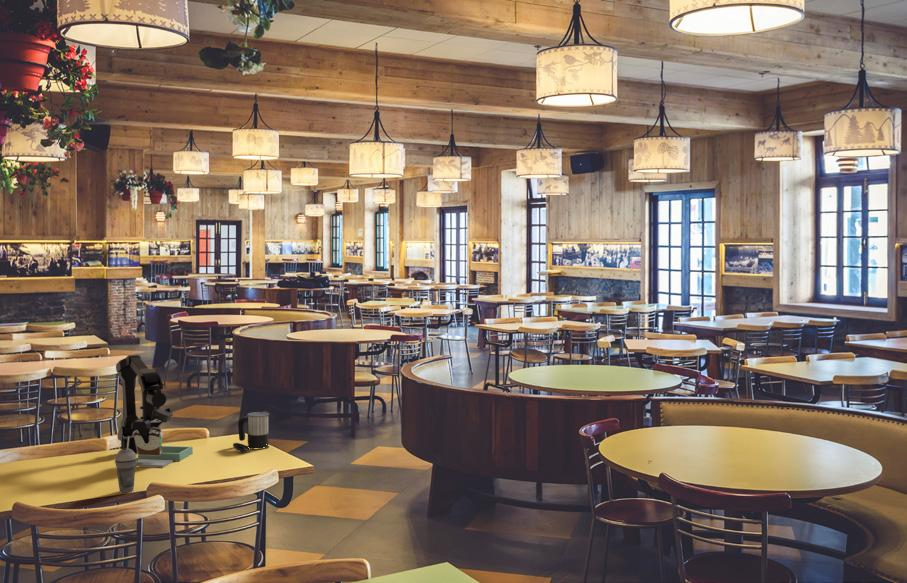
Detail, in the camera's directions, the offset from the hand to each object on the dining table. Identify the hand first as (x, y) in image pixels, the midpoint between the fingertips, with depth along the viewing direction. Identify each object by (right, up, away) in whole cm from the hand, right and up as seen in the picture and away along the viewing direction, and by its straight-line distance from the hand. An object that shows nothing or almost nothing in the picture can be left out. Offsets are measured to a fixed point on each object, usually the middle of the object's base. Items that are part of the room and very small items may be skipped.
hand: (150, 441), depth 326 cm
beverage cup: (+5, -11, -36) cm, 38 cm away
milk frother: (+34, -8, +25) cm, 43 cm away
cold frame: (+2, -9, +13) cm, 16 cm away
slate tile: (0, -9, 0) cm, 9 cm away
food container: (0, -5, +2) cm, 5 cm away
